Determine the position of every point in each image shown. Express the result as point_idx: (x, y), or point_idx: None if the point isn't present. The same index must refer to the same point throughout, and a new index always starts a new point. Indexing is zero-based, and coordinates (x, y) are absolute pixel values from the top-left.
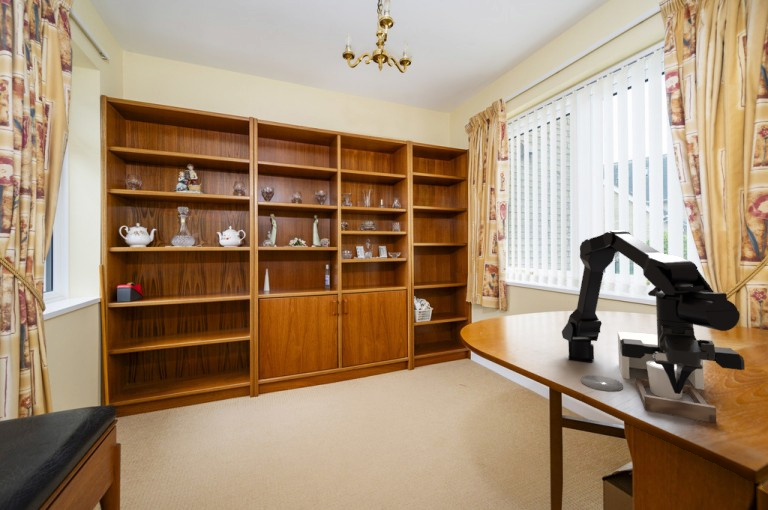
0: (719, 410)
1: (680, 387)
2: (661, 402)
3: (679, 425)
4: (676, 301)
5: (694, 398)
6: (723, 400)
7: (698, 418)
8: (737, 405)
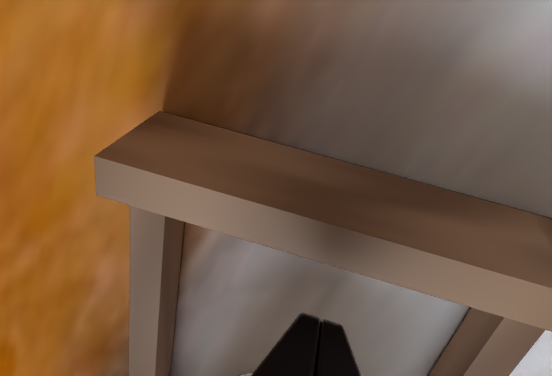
0: (95, 279)
1: (288, 367)
2: (481, 246)
3: (444, 4)
4: None
5: (165, 370)
6: (55, 366)
7: (246, 140)
8: (16, 329)
